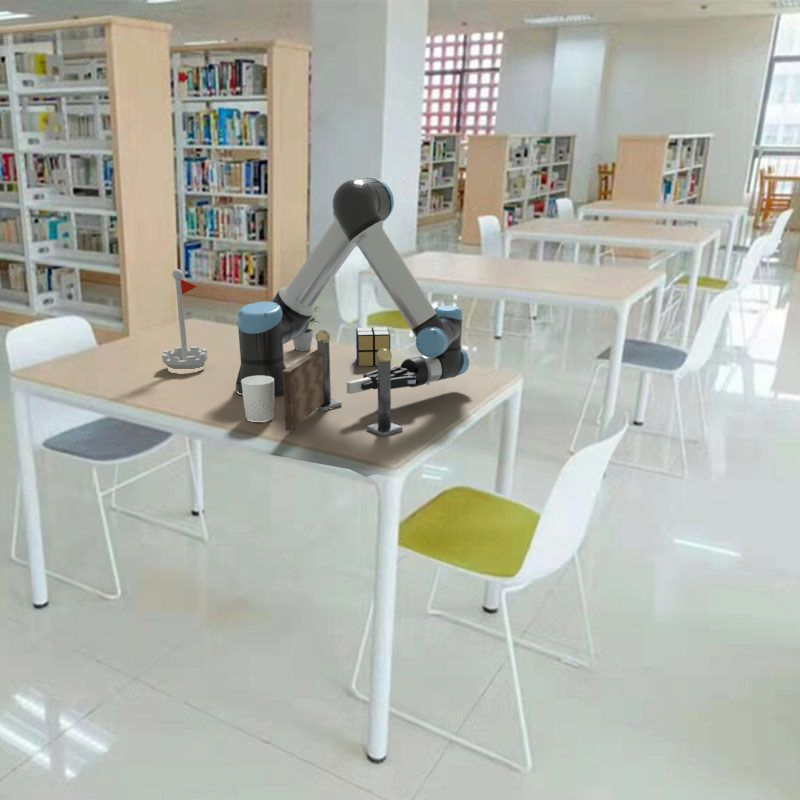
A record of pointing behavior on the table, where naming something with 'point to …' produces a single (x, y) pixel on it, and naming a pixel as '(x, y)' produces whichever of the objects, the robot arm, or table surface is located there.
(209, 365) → the table surface
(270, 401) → the white cup
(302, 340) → the house plant
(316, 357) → the panel
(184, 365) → the flag stand
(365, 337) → the puzzle cube
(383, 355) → the gate posts
